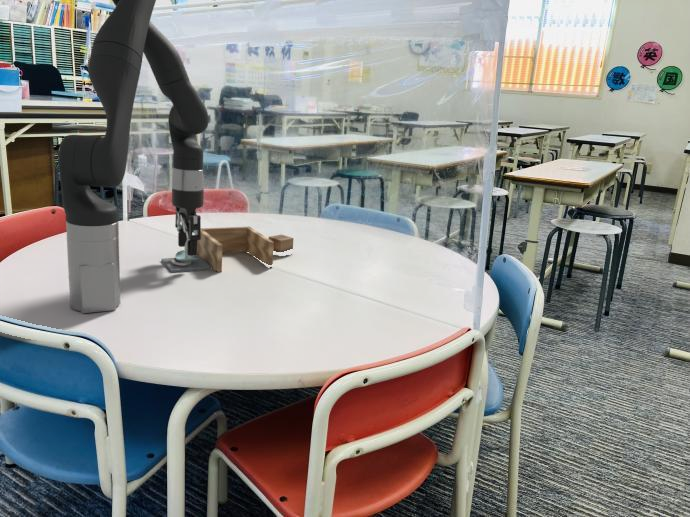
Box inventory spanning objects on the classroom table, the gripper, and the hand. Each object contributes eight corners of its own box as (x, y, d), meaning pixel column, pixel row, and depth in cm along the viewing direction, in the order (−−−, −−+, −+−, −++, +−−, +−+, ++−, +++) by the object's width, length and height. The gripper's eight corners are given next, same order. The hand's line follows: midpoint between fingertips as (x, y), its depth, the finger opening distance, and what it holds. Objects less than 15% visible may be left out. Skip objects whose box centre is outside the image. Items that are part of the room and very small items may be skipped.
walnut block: (292, 254, 158) (293, 238, 156) (280, 257, 154) (281, 240, 152) (280, 250, 161) (281, 234, 159) (267, 253, 157) (268, 236, 155)
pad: (211, 269, 138) (211, 267, 138) (171, 272, 133) (171, 270, 133) (199, 258, 146) (199, 256, 146) (161, 260, 141) (161, 258, 141)
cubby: (272, 267, 144) (273, 242, 142) (217, 272, 136) (217, 245, 134) (248, 250, 158) (249, 226, 156) (196, 253, 150) (197, 228, 148)
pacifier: (176, 268, 134) (199, 266, 138) (175, 244, 133) (199, 242, 136) (167, 260, 140) (190, 258, 143) (166, 237, 138) (190, 235, 142)
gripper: (212, 192, 130) (210, 257, 134) (195, 182, 142) (194, 242, 146) (180, 192, 126) (179, 259, 131) (165, 182, 138) (165, 244, 142)
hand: (187, 250), depth 138 cm, fingers open, 8 cm apart
